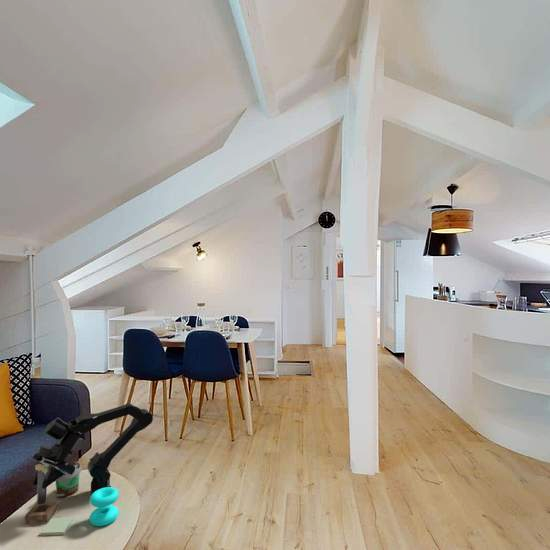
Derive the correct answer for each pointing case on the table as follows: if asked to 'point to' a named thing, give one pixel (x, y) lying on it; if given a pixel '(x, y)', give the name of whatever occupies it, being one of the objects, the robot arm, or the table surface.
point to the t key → (41, 483)
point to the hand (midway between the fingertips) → (38, 486)
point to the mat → (57, 526)
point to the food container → (68, 483)
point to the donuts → (104, 506)
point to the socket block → (41, 513)
